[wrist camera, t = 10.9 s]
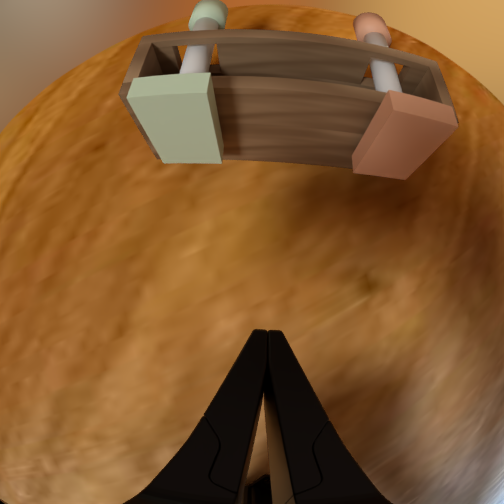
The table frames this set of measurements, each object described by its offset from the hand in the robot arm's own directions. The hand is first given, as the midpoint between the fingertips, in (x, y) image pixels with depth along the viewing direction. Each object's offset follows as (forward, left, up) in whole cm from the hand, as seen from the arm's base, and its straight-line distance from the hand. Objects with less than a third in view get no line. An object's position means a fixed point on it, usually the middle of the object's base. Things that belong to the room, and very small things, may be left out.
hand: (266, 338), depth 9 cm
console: (+10, -12, -14) cm, 21 cm away
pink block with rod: (+7, -19, -11) cm, 23 cm away
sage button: (+17, -9, -11) cm, 22 cm away
